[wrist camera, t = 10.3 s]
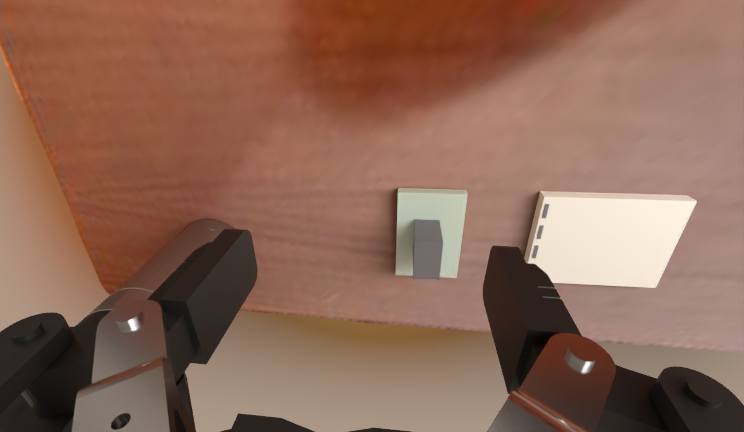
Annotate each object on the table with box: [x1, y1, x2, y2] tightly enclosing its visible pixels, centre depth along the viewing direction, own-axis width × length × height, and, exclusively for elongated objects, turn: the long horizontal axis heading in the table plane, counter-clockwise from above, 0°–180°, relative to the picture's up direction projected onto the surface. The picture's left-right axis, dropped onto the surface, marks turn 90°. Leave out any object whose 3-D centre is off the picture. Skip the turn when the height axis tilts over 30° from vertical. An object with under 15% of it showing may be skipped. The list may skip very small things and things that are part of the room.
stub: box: [395, 188, 468, 279], centre depth 42 cm, size 8×12×6 cm, turn 1°
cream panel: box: [524, 191, 697, 288], centre depth 42 cm, size 16×12×2 cm
